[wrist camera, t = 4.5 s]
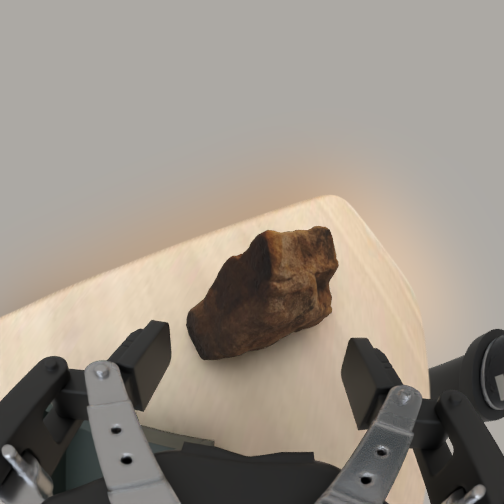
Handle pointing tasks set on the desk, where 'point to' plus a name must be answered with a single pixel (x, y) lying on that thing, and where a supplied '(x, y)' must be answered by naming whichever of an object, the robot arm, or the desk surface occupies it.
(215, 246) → the desk surface
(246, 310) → the decorative rock
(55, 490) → the bin
